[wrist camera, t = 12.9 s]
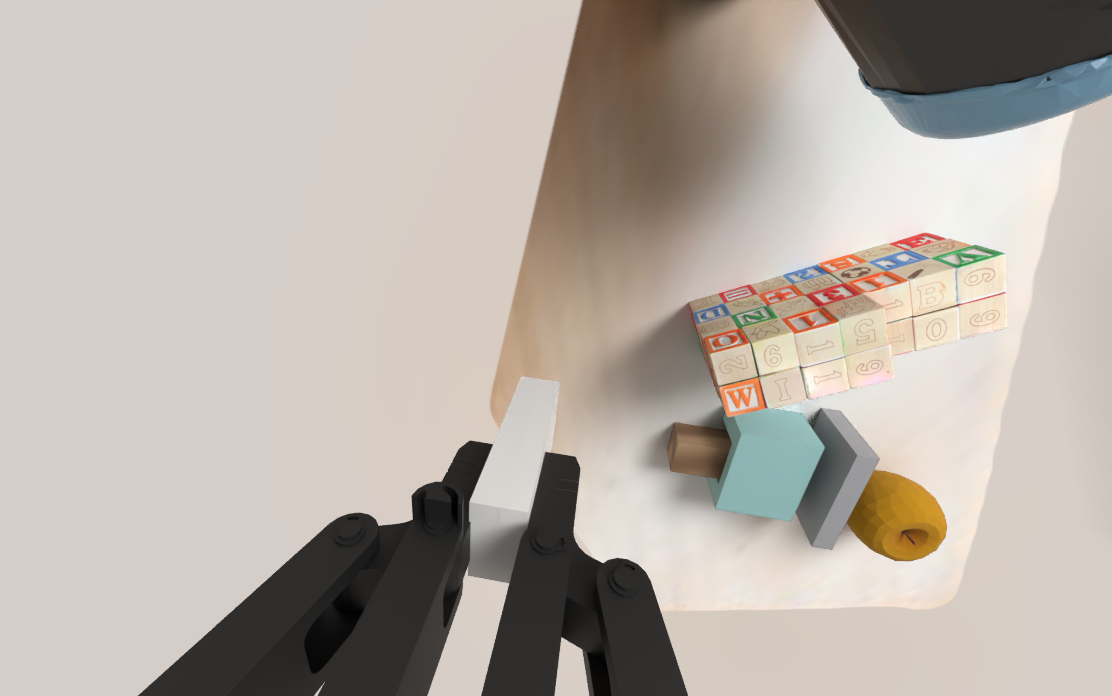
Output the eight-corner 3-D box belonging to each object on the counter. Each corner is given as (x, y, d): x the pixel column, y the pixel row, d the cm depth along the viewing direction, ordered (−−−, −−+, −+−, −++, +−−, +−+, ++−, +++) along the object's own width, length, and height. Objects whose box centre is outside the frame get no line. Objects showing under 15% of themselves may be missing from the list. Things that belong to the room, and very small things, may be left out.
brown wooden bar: (674, 421, 51) (678, 442, 47) (762, 435, 50) (773, 457, 47) (666, 448, 53) (670, 470, 49) (751, 462, 52) (761, 486, 48)
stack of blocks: (926, 229, 39) (1047, 263, 28) (930, 292, 41) (1043, 347, 30) (686, 302, 45) (708, 354, 34) (701, 354, 47) (726, 420, 36)
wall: (821, 408, 48) (857, 455, 40) (840, 411, 47) (880, 458, 40) (785, 491, 53) (811, 546, 46) (802, 494, 53) (831, 549, 46)
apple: (917, 500, 51) (972, 566, 43) (839, 519, 54) (877, 584, 46) (902, 445, 48) (957, 504, 40) (820, 467, 51) (857, 527, 43)
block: (727, 402, 49) (741, 434, 43) (801, 413, 48) (824, 447, 43) (705, 471, 53) (715, 508, 48) (773, 482, 53) (791, 521, 47)
